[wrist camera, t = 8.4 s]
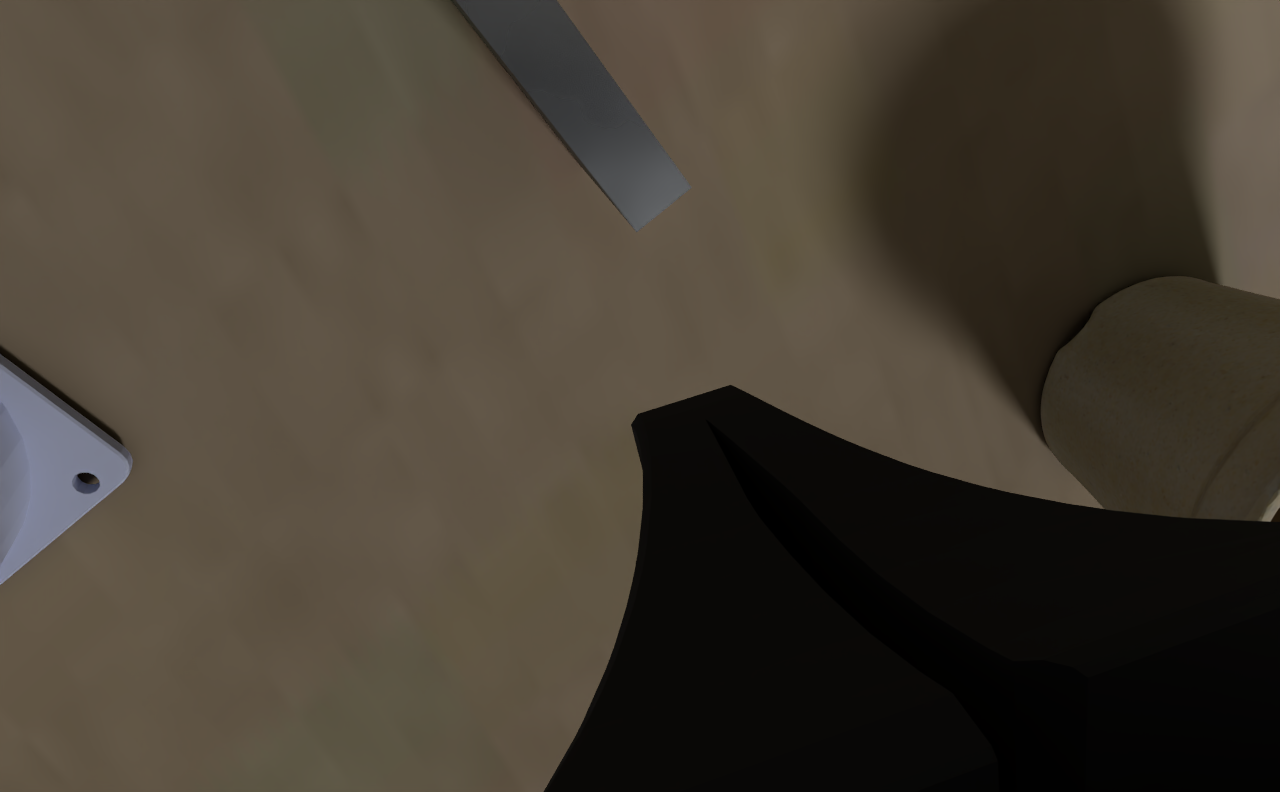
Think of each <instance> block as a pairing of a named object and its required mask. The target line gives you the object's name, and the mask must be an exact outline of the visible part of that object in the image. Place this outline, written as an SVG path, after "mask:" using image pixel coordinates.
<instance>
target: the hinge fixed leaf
mask: <svg viewBox="0 0 1280 792" xmlns="http://www.w3.org/2000/svg"><path fill="white" fill-rule="evenodd" d="M451 1H452V2H453V4H454V5H455V6H456V7H457V9H458V10H459V11H460V12H461V14H462V15H463V16H464V18H465V19H466V20H467V21H468V23H469V24H470V25H471V27H472V28H473V29H474V30H475V32H476V33H477V34H478V35H479V37H480V38H481V39H482V41H483V42H484V43H485V44H486V46H487V47H488V48H489V49H490V51H491V52H492V53H493V55H494V56H495V57H496V58H497V60H498V61H499V62H500V64H501V65H502V66H503V67H504V69H505V70H506V71H507V72H508V74H509V75H510V76H511V78H512V79H513V80H514V81H515V83H516V84H517V85H518V86H519V88H520V89H521V90H522V92H523V93H524V94H525V95H526V97H527V98H528V99H529V101H530V102H531V103H532V104H533V106H534V107H535V108H536V109H537V111H538V112H539V113H540V115H541V116H542V117H543V118H544V120H545V121H546V122H547V123H548V125H549V126H550V127H551V129H552V130H553V131H554V132H555V134H556V135H557V136H558V137H559V139H560V140H561V141H562V143H563V144H564V145H565V146H566V148H567V149H568V150H569V152H570V153H571V154H572V155H573V157H574V158H575V159H576V160H577V162H578V163H579V164H580V166H581V167H582V168H583V169H584V171H585V172H586V173H587V174H588V175H589V176H590V178H591V179H592V180H593V181H594V182H595V184H596V185H597V186H598V187H599V188H600V189H601V191H602V192H603V193H604V194H605V195H606V196H607V198H608V199H609V200H610V201H611V202H612V204H613V205H614V206H615V207H616V208H617V209H618V211H619V212H620V213H621V214H622V215H623V217H624V218H625V219H626V220H627V221H628V222H629V224H630V225H631V226H632V227H633V228H634V230H635V231H636V232H637V231H639V230H640V229H641V228H642V227H644V226H645V225H646V224H647V223H648V222H650V221H651V220H652V219H653V218H655V217H656V216H657V215H658V214H660V213H661V212H662V211H663V210H664V209H666V208H667V207H668V206H669V205H671V204H672V203H673V202H674V201H676V200H677V199H678V198H679V197H680V196H682V195H683V194H684V193H685V192H687V191H688V190H689V189H690V188H691V186H690V185H689V183H688V182H687V181H686V179H685V178H684V176H683V175H682V174H681V172H680V171H679V170H678V168H677V167H676V165H675V164H674V163H673V161H672V160H671V158H670V157H669V156H668V154H667V153H666V151H665V150H664V149H663V147H662V146H661V145H660V143H659V142H658V140H657V139H656V138H655V136H654V135H653V133H652V132H651V131H650V129H649V128H648V127H647V125H646V124H645V122H644V121H643V120H642V118H641V117H640V115H639V114H638V113H637V111H636V110H635V108H634V107H633V106H632V104H631V103H630V102H629V100H628V99H627V97H626V96H625V95H624V93H623V92H622V90H621V89H620V88H619V86H618V85H617V84H616V82H615V81H614V79H613V78H612V77H611V75H610V74H609V72H608V71H607V70H606V68H605V67H604V65H603V64H602V63H601V61H600V60H599V59H598V57H597V56H596V54H595V53H594V52H593V50H592V49H591V47H590V46H589V45H588V43H587V42H586V41H585V39H584V38H583V36H582V35H581V34H580V32H579V31H578V29H577V28H576V27H575V25H574V24H573V22H572V21H571V20H570V18H569V17H568V16H567V14H566V13H565V11H564V10H563V9H562V7H561V6H560V4H559V3H558V2H557V0H451Z"/></svg>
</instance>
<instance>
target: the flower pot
mask: <svg viewBox="0 0 1280 792" xmlns="http://www.w3.org/2000/svg"><path fill="white" fill-rule="evenodd" d="M1041 422H1042V429H1043V433H1044V437H1045V440H1046V442H1047V444H1048V446H1049V448H1050V450H1051V451H1052V453H1053V454H1054V455H1055V457H1056V458H1057V459H1058V460H1059V462H1060V463H1061V464H1062V465H1063V466H1064V467H1065V468H1066V469H1067V470H1068V471H1069V472H1070V473H1071V474H1072V475H1073V476H1074V477H1075V478H1076V479H1077V480H1078V481H1079V482H1080V483H1081V484H1082V485H1083V486H1084V487H1085V488H1086V489H1087V490H1088V491H1089V492H1090V494H1091V495H1092V496H1093V497H1094V498H1095V499H1096V500H1097V501H1098V502H1099V503H1100V504H1101V505H1102V507H1103V508H1104V509H1107V510H1114V511H1124V512H1133V513H1142V514H1152V515H1161V516H1170V517H1182V518H1199V519H1223V520H1246V521H1269V522H1280V299H1276V298H1272V297H1268V296H1263V295H1259V294H1255V293H1251V292H1247V291H1243V290H1239V289H1235V288H1231V287H1227V286H1223V285H1219V284H1215V283H1210V282H1207V281H1204V280H1201V279H1197V278H1193V277H1185V276H1167V277H1159V278H1153V279H1150V280H1146V281H1143V282H1140V283H1137V284H1135V285H1132V286H1130V287H1128V288H1125V289H1123V290H1121V291H1119V292H1118V293H1116V294H1114V295H1112V296H1111V297H1109V298H1107V299H1106V300H1105V301H1103V302H1102V303H1100V304H1099V305H1098V306H1097V307H1096V308H1095V309H1094V311H1093V313H1092V315H1091V317H1090V319H1089V320H1088V322H1087V323H1086V325H1085V326H1084V328H1083V329H1082V330H1081V331H1080V332H1079V333H1078V334H1077V335H1076V336H1075V337H1074V338H1073V339H1072V340H1071V341H1070V342H1069V343H1068V344H1066V345H1065V346H1064V347H1062V348H1061V349H1060V350H1059V351H1058V352H1057V354H1056V356H1055V358H1054V360H1053V362H1052V364H1051V366H1050V369H1049V372H1048V375H1047V378H1046V381H1045V384H1044V388H1043V393H1042V399H1041Z"/></svg>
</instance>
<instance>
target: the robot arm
mask: <svg viewBox="0 0 1280 792" xmlns="http://www.w3.org/2000/svg"><path fill="white" fill-rule="evenodd" d="M631 426H632V430H633V434H634V438H635V442H636V446H637V449H638V453H639V457H640V461H641V465H642V469H643V511H642V521H641V530H640V539H639V548H638V555H637V561H636V566H635V572H634V577H633V582H632V586H631V590H630V594H629V599H628V603H627V607H626V610H625V613H624V617H623V620H622V623H621V627H620V630H619V633H618V636H617V640H616V643H615V646H614V649H613V651H612V654H611V657H610V660H609V663H608V665H607V668H606V670H605V672H604V675H603V677H602V679H601V682H600V684H599V686H598V688H597V691H596V693H595V695H594V698H593V700H592V702H591V704H590V707H589V709H588V711H587V713H586V716H585V718H584V720H583V722H582V724H581V726H580V728H579V730H578V732H577V734H576V736H575V738H574V740H573V742H572V743H571V745H570V747H569V749H568V750H567V752H566V754H565V756H564V757H563V759H562V761H561V762H560V764H559V766H558V768H557V769H556V771H555V773H554V775H553V776H552V778H551V780H550V782H549V783H548V785H547V787H546V789H545V790H544V792H1280V522H1269V521H1246V520H1223V519H1199V518H1182V517H1170V516H1161V515H1152V514H1142V513H1133V512H1124V511H1114V510H1107V509H1100V508H1093V507H1086V506H1079V505H1072V504H1066V503H1061V502H1056V501H1050V500H1045V499H1040V498H1035V497H1030V496H1024V495H1019V494H1014V493H1009V492H1005V491H1001V490H996V489H992V488H988V487H983V486H979V485H976V484H972V483H969V482H965V481H962V480H958V479H954V478H951V477H947V476H944V475H940V474H937V473H933V472H930V471H927V470H924V469H921V468H917V467H914V466H911V465H908V464H906V463H903V462H900V461H897V460H895V459H892V458H889V457H887V456H884V455H882V454H879V453H876V452H874V451H871V450H868V449H866V448H863V447H861V446H858V445H856V444H854V443H851V442H849V441H846V440H844V439H842V438H839V437H837V436H835V435H833V434H830V433H828V432H826V431H824V430H822V429H819V428H817V427H815V426H813V425H811V424H809V423H806V422H804V421H802V420H800V419H798V418H796V417H794V416H792V415H790V414H788V413H786V412H784V411H782V410H780V409H778V408H776V407H774V406H772V405H770V404H768V403H766V402H764V401H762V400H760V399H758V398H756V397H754V396H752V395H750V394H748V393H746V392H744V391H742V390H740V389H738V388H736V387H734V386H732V385H729V386H726V387H722V388H719V389H716V390H713V391H710V392H707V393H703V394H700V395H697V396H694V397H691V398H687V399H684V400H681V401H678V402H675V403H672V404H668V405H665V406H662V407H659V408H656V409H652V410H649V411H646V412H643V413H640V414H638V415H637V416H636V418H635V420H634V421H633V423H632V424H631ZM132 463H133V460H132V457H131V454H130V452H129V451H128V450H127V449H126V448H125V447H124V446H123V445H121V444H120V443H119V442H117V441H116V440H115V439H113V438H112V437H111V436H109V435H108V434H107V433H105V432H104V431H103V430H101V429H100V428H99V427H97V426H96V425H95V424H93V423H92V422H91V421H89V420H88V419H87V418H85V417H84V416H83V415H81V414H80V413H79V412H77V411H76V410H75V409H73V408H72V407H71V406H69V405H68V404H67V403H65V402H64V401H63V400H61V399H60V398H59V397H57V396H56V395H55V394H53V393H52V392H51V391H49V390H48V389H47V388H45V387H44V386H43V385H41V384H40V383H38V382H37V381H36V380H34V379H33V378H32V377H30V376H29V375H28V374H26V373H25V372H24V371H22V370H21V369H20V368H18V367H17V366H16V365H14V364H13V363H12V362H10V361H9V360H8V359H6V358H5V357H4V356H2V355H1V354H0V585H1V584H2V583H3V582H4V581H6V580H7V579H8V578H9V577H10V576H12V575H13V574H14V573H15V572H16V571H17V570H19V569H20V568H21V567H22V566H23V565H25V564H26V563H27V562H28V561H29V560H31V559H32V558H33V557H34V556H35V555H37V554H38V553H39V552H40V551H41V550H43V549H44V548H45V547H46V546H47V545H49V544H50V543H51V542H52V541H53V540H55V539H56V538H57V537H58V536H59V535H61V534H62V533H63V532H64V531H65V530H67V529H68V528H69V527H70V526H71V525H73V524H74V523H75V522H76V521H77V520H79V519H80V518H81V517H82V516H83V515H85V514H86V513H87V512H88V511H89V510H91V509H92V508H93V507H94V506H95V505H97V504H98V503H99V502H100V501H101V500H103V499H104V498H105V497H106V496H107V495H109V494H110V493H111V492H112V491H113V490H115V489H116V488H117V487H118V486H119V485H120V484H122V483H123V482H124V481H125V479H126V478H127V477H128V475H129V473H130V471H131V469H132ZM79 473H91V474H93V475H95V476H96V477H97V478H98V479H99V483H97V484H87V483H84V482H82V481H81V480H80V479H79V478H78V476H77V474H79Z"/></svg>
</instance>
